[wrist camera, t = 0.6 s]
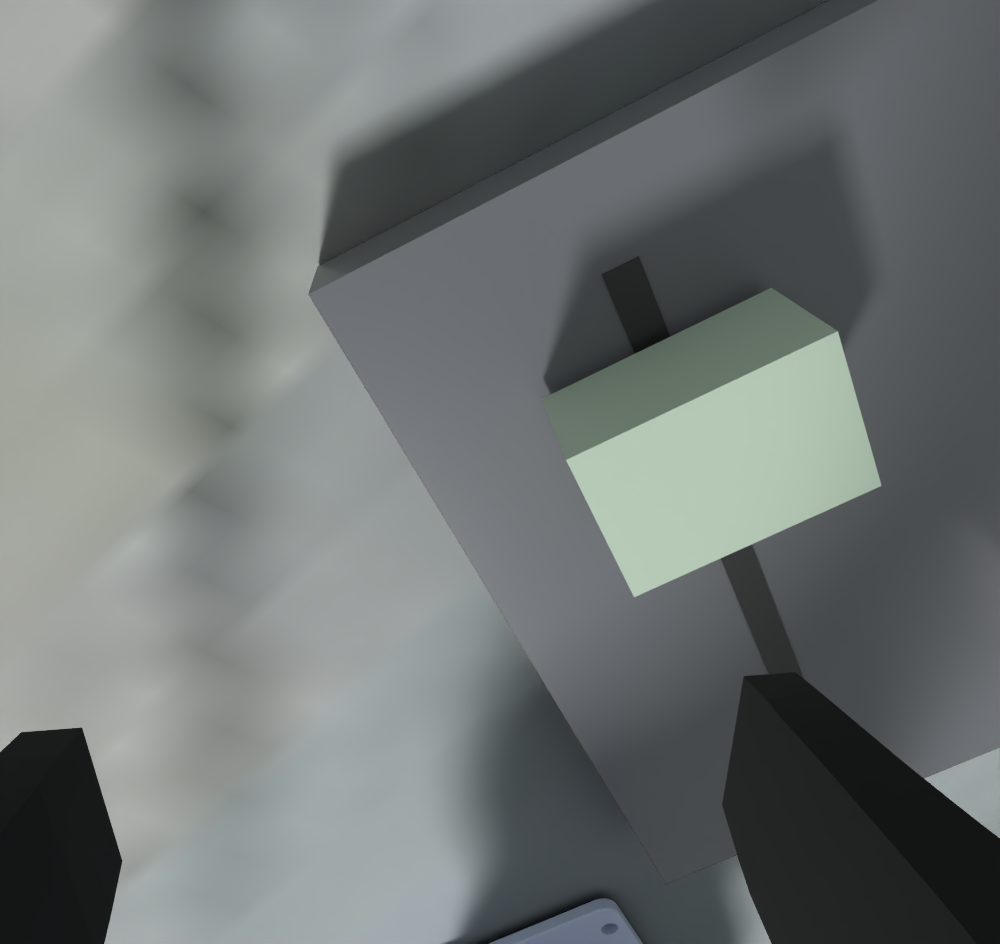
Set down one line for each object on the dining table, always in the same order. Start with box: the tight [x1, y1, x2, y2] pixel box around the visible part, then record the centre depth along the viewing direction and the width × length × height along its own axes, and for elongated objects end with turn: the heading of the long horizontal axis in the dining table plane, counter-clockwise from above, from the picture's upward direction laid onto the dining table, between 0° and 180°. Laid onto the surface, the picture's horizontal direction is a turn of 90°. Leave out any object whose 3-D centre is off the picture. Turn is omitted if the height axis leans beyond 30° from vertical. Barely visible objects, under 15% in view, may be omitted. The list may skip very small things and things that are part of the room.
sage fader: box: [541, 288, 881, 597], centre depth 15 cm, size 3×4×2 cm, turn 115°
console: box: [309, 0, 1000, 884], centre depth 18 cm, size 18×18×2 cm
